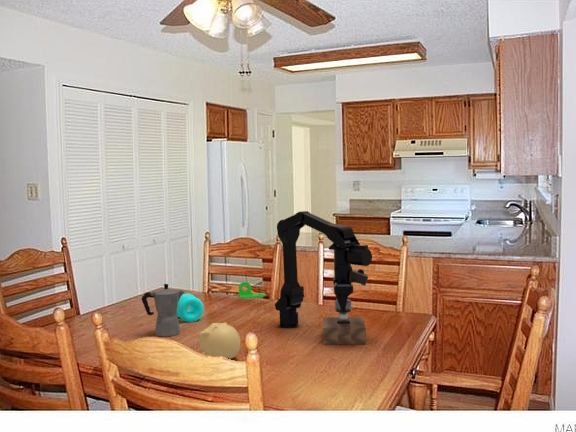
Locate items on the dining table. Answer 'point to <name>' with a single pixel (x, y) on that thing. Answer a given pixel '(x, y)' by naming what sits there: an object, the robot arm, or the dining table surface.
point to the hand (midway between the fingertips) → (343, 309)
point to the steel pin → (343, 314)
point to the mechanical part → (248, 291)
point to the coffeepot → (165, 310)
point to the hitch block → (344, 331)
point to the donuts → (193, 311)
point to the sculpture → (220, 340)
